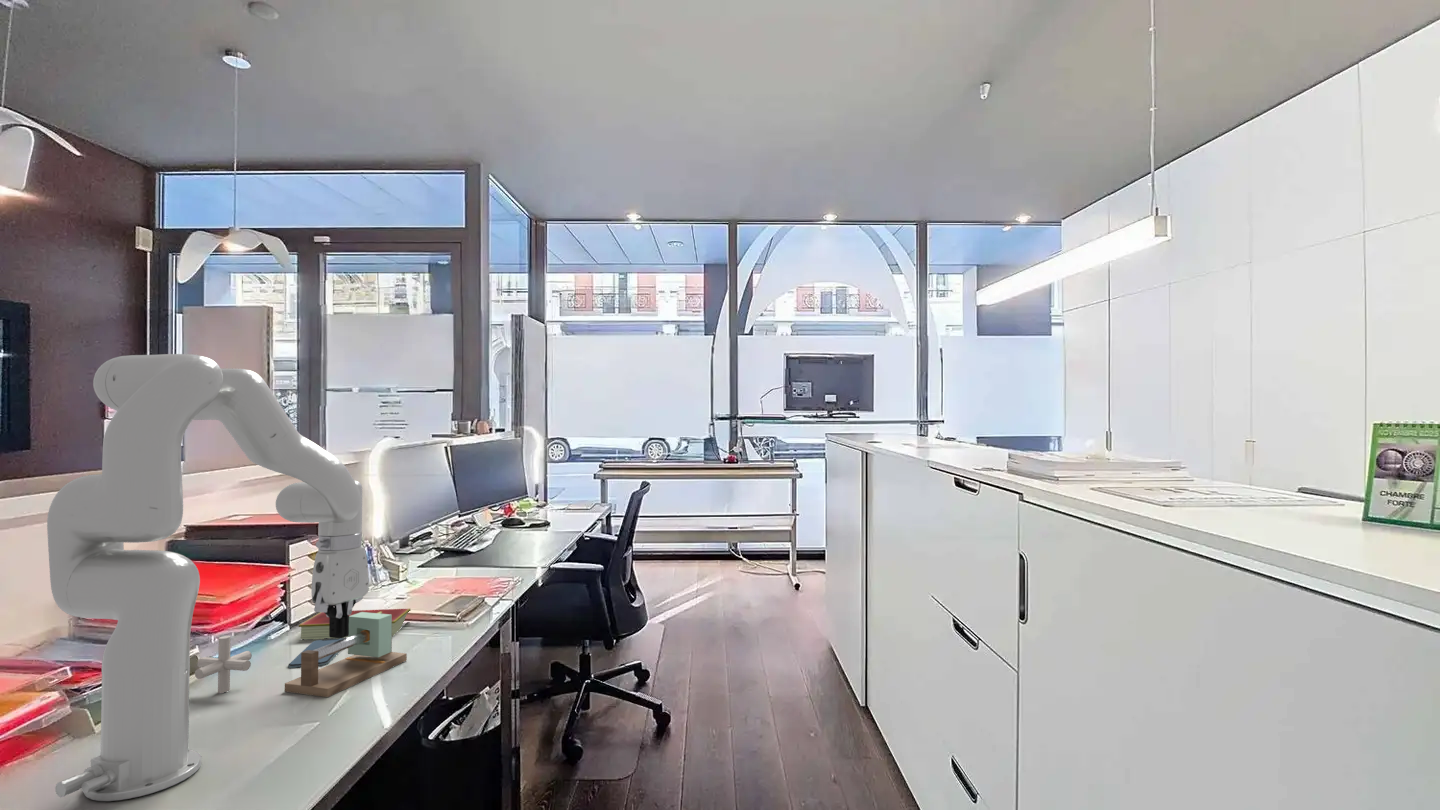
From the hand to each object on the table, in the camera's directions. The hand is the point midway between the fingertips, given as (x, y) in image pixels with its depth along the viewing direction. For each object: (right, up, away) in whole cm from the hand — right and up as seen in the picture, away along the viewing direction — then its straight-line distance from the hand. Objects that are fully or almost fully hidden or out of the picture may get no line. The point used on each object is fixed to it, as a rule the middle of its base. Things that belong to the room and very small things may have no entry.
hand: (338, 636), depth 135 cm
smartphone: (-11, -9, +13) cm, 19 cm away
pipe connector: (-17, -8, -8) cm, 20 cm away
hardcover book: (-12, -9, +30) cm, 34 cm away
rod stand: (+2, -8, 0) cm, 8 cm away
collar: (+3, -5, +6) cm, 8 cm away
